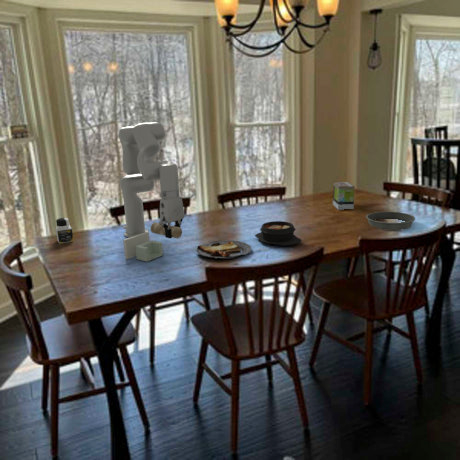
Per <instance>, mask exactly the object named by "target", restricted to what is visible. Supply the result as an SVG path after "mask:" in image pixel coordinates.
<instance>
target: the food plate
mask: <svg viewBox="0 0 460 460" xmlns="http://www.w3.org/2000/svg"><path fill="white" fill-rule="evenodd" d="M251 250H252V246H251V245H250V244H249V243H247V242H243V241H240V240H233V239H232V240H231V239H230V240H221V239H220V240H213V241H210V242H207V243H203V244H199V245H197V248H196V253H198V255H200V256H203V257H207V258H211V259H218V258H219V259H234V258H237V257H239V256H243V255H244V256H245V255H248V254H250V253H251V252H252V251H251Z"/></svg>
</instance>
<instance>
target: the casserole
mask: <svg viewBox="0 0 460 460" xmlns="http://www.w3.org/2000/svg"><path fill="white" fill-rule="evenodd" d="M259 230H260V231H259V232H258V233H256V234H254V237H256V238H257V239H258V240H259V241H260V242H262V243H265V244H269V245H273V246H274V245H275V246H285V247H286V246H292V245H296V244H300V243H301V242H302V239H301V238H299V237H298V236H297V235H295V231H296V228H295V226H294V224H293V223H292V222H288V221H280V220H274V221H268V222H265V223H263V224H262V225H261V228H259Z"/></svg>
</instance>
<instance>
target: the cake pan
mask: <svg viewBox="0 0 460 460" xmlns="http://www.w3.org/2000/svg"><path fill="white" fill-rule="evenodd" d="M365 219H367V222H368V225H369V224H370V225H371V226H370V225H369V226H370V227H372V226H374V227H377V228H376V229H378V228H382V229H381V230H384V229H390V230H389V231H402V230H401V229H404V230H408V229H410V228H411V227H412V225H413V222H414V221H415V220H416V217H415V216H414V215H411V214H409V213H406V212H405V213H404V212H401V211H375V212H371V213H368V214H366V216H365ZM375 219H398V220H402V221H405V222H401V223H387V222H386V221H380V220H375ZM374 220H375V221H374ZM374 227H373V228H374Z"/></svg>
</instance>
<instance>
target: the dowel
mask: <svg viewBox="0 0 460 460" xmlns="http://www.w3.org/2000/svg"><path fill="white" fill-rule="evenodd" d="M167 226H168V224H167ZM170 229H171V232H172V238H174V239H180V238H181V237H182V234H183V230H182V229H183V228H182V227H181V226H180V227H176V226H174V225H170ZM150 232H151V234H155V235H159V236H160V235H161V236H164V237H165V229H164V228H163V227H162V226H161V225H160V224H159V222H155V221H154V222H152V224H151V225H150Z"/></svg>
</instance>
